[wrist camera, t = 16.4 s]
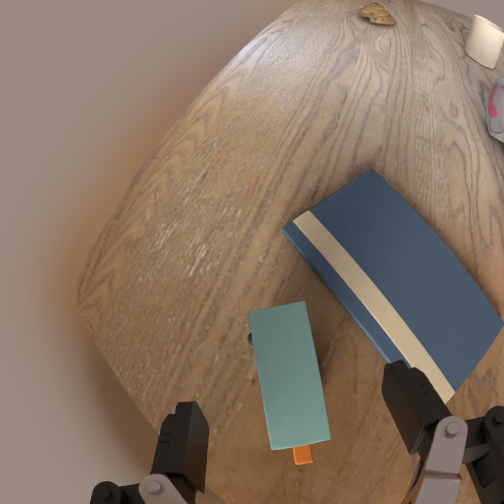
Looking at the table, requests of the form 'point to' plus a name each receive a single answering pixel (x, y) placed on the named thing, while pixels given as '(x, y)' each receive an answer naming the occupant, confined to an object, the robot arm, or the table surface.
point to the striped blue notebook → (398, 280)
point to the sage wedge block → (289, 378)
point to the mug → (484, 41)
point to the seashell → (377, 14)
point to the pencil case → (496, 110)
